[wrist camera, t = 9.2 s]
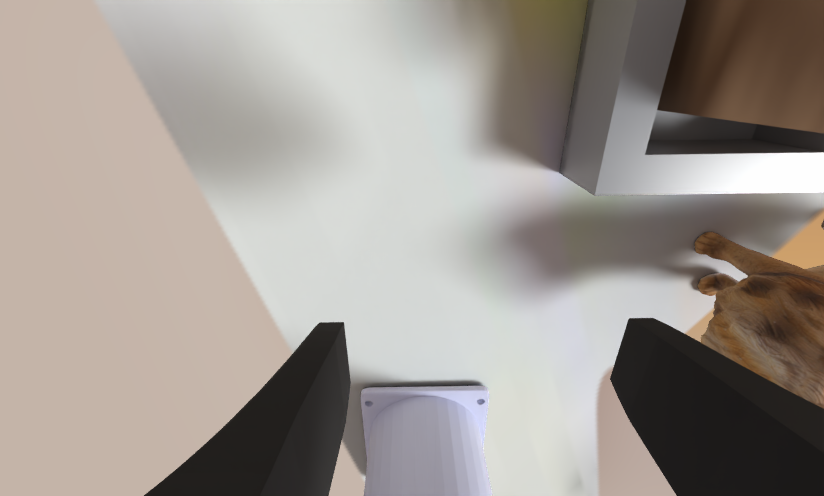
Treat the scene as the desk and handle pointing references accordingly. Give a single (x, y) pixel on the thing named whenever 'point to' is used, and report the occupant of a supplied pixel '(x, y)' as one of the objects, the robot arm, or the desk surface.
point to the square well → (666, 120)
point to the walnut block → (749, 63)
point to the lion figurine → (767, 316)
